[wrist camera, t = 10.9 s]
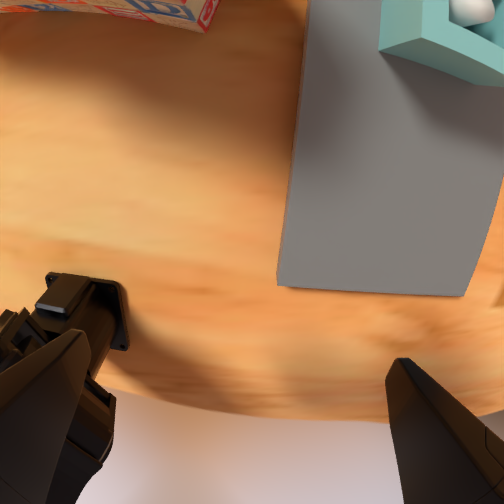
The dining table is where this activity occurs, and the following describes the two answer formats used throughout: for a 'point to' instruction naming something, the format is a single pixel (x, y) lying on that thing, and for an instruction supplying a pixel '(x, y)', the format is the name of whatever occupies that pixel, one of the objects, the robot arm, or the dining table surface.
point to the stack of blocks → (129, 10)
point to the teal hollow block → (444, 40)
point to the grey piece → (387, 161)
